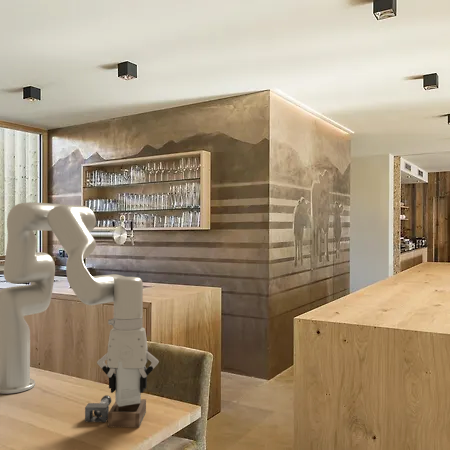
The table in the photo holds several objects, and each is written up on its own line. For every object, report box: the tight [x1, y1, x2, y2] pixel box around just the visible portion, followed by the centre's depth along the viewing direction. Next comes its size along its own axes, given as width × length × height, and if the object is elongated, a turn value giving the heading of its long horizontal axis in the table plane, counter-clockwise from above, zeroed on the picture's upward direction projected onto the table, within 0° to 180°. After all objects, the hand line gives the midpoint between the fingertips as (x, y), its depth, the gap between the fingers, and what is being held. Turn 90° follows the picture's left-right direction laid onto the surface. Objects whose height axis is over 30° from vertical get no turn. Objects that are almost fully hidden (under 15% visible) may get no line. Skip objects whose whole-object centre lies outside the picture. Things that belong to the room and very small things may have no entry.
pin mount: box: [84, 402, 110, 423], centre depth 126 cm, size 5×3×4 cm, turn 90°
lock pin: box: [93, 395, 112, 417], centre depth 131 cm, size 3×9×3 cm, turn 0°
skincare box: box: [114, 361, 142, 407], centre depth 126 cm, size 6×4×12 cm
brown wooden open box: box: [107, 398, 147, 428], centre depth 126 cm, size 8×10×4 cm
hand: (127, 390), depth 126 cm, fingers closed on skincare box, 7 cm apart
